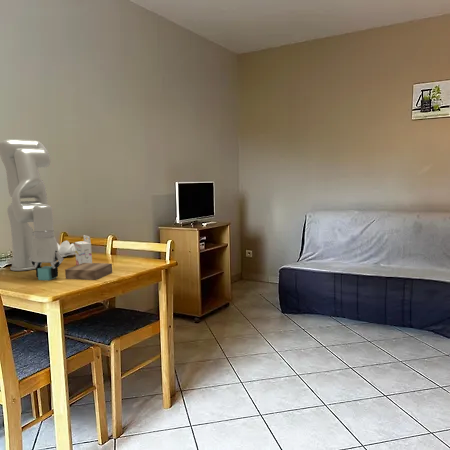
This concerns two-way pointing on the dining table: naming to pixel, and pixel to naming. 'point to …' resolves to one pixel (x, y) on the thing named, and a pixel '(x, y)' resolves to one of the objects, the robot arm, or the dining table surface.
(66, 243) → the lotus flower
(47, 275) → the teal cube
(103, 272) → the walnut base block
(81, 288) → the dining table surface
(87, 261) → the ink cartridge box
